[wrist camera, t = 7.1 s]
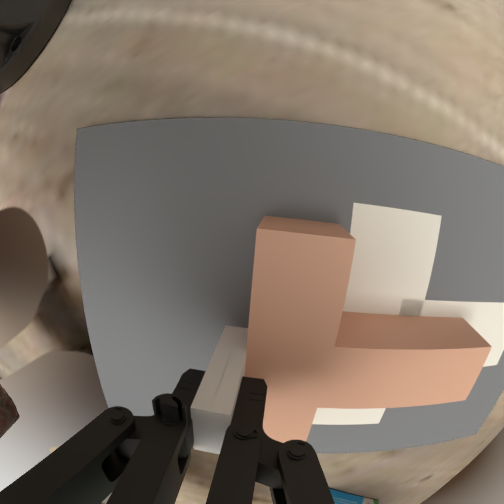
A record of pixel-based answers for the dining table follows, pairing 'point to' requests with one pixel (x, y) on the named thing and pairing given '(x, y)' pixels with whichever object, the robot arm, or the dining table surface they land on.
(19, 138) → the dining table surface
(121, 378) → the mat
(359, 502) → the milk carton
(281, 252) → the t block
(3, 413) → the candle
